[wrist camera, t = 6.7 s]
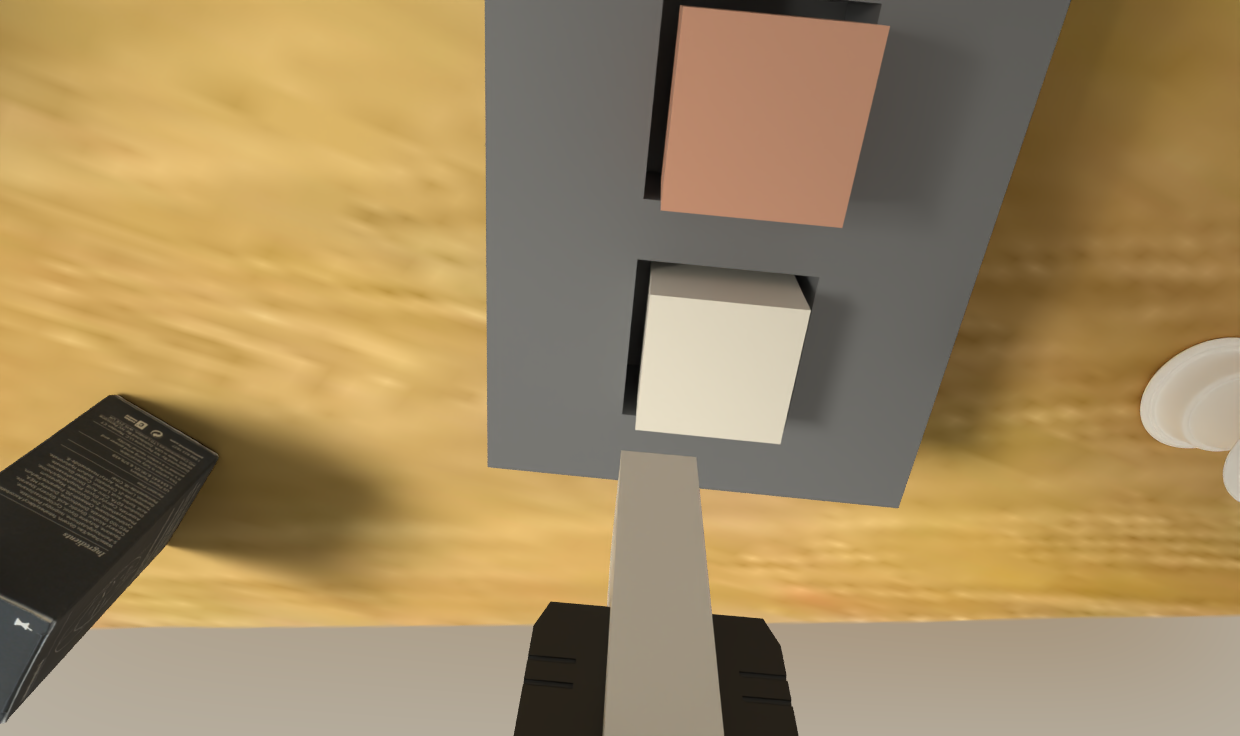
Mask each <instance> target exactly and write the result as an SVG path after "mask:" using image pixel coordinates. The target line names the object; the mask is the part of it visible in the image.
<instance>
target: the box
mask: <svg viewBox="0 0 1240 736" xmlns="http://www.w3.org/2000/svg"><path fill="white" fill-rule="evenodd" d="M218 458H219V456H218V454H217V453H215V452H213V451H212V450H210V449H208V448H206V447H205V446H203V445H201V444H200V443H198V442H197V441H196V440H194V439H191V438H190V437H189V436H187V435H185V434H183V433H182V432H181V431H179V430H177V429H175V428H173V427H171V426H170V425H168V424H167V423H165V422H163V421H161V420H159V419H158V418H156V417H154V416H153V415H151V414H149V413H147V412H145V411H144V410H142V409H140V408H139V407H137V406H135V405H133V404H132V403H130V402H128V401H126V400H125V399H123V398H122V397H121V396H119V395H109V396H107V397H106V398H104V399H103V400H102V401H100V402H99V403H97V404H96V405H95V406H93V407H92V408H90V409H89V410H88V411H86V412H85V413H83V414H82V415H80V416H79V417H78V418H76V419H75V420H74V421H72V422H71V423H69V424H68V425H67V426H65V427H64V428H62V429H61V430H59V431H58V432H57V433H55V434H54V435H53V436H51V437H50V438H48V439H47V440H46V441H44V442H43V443H41V444H40V445H38V446H37V447H36V448H34V449H33V450H31V451H30V452H28V453H27V454H26V455H24V456H23V457H21V458H20V459H18V460H17V461H16V462H14V463H13V464H11V465H10V466H9V467H7V468H6V469H4V470H3V471H1V472H0V723H5V722H7V720H8V719H9V717H10V716H11V715H12V714H13V713H14V712H15V710H17V708H18V707H19V706H20V705H21V704H22V703H23V702H24V701H25V699H26V698H27V697H28V696H29V695H30V694H31V693H32V692H33V691H34V690H35V689H36V687H37V686H38V685H39V684H40V683H41V682H42V681H43V679H45V677H47V675H48V674H49V673H50V672H51V671H52V670H53V669H54V668H55V667H56V665H57V664H58V663H59V662H60V661H61V660H62V659H63V658H64V657H65V656H66V654H67V653H68V652H69V651H70V650H71V649H72V648H73V647H74V645H75V644H76V643H77V642H78V641H79V640H80V639H81V638H82V636H84V635H85V633H86V632H87V631H88V630H89V629H90V628H91V627H92V626H93V625H94V624H95V622H96V621H97V620H98V619H99V618H100V617H101V616H102V615H103V614H104V612H105V611H106V610H107V609H108V608H109V607H110V606H111V605H112V604H113V603H114V602H115V601H116V599H117V598H118V597H119V596H120V595H121V594H122V593H123V592H124V591H125V590H126V588H127V587H128V586H130V584H131V583H132V582H133V581H134V580H135V579H136V578H137V577H138V576H139V574H140V573H141V572H142V571H143V570H144V569H145V568H146V567H147V566H148V565H149V564H150V562H151V561H152V560H153V559H154V558H155V557H156V556H157V555H158V554H159V553H160V552H161V551H162V550H163V548H164V547H165V546H166V545H167V543H168V541H169V540H170V538H171V537H172V535H173V533H174V532H175V530H176V528H177V527H178V525H179V524H180V522H181V520H182V519H183V517H184V515H185V514H186V512H187V510H188V509H189V507H190V505H191V504H192V502H193V501H194V499H195V497H196V496H197V494H198V492H199V490H200V489H201V487H202V486H203V484H204V482H205V481H206V479H207V477H208V475H209V474H210V472H211V471H212V469H213V467H214V466H215V464H216V462H217V460H218Z"/></svg>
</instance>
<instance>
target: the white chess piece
mask: <svg viewBox="0 0 1240 736" xmlns="http://www.w3.org/2000/svg"><path fill="white" fill-rule="evenodd" d="M1140 416H1141V420H1142V423H1143V425H1144V427H1145V429H1146V430H1147V432H1148V433H1149V434H1150V435H1151V436H1152V437H1153V438H1155V439H1156V440H1158V441H1159V442H1161V443H1164V444H1166V445H1169V446H1173V447H1178V448H1199V449H1202V450H1207V451H1228V450H1230V452H1229V454H1228V456H1227V458H1226V460H1225V463H1224V468H1223V481H1224V484H1225V487H1226V489H1227V491H1228V492H1229V494H1230V495H1231V496H1232V497H1233V498H1234V499H1236V500H1237V501H1239V502H1240V338H1220V339H1214V340H1210V341H1206V342H1203V343H1200V344H1197V345H1195V346H1192V347H1190V348H1188V349H1186V350H1184V351H1182V352H1181V353H1179V354H1177V355H1176V356H1174V357H1173V358H1172V359H1170V360H1169V361H1168V362H1166V363H1165V364H1164V365H1163V366H1162V367H1161V368H1160V369H1159V370H1158V371H1157V372H1156V373H1155V374H1154V376H1153V377H1152V378H1151V380H1150V381H1149V383H1148V385H1147V386H1146V388H1145V390H1144V393H1143V396H1142V399H1141V404H1140Z"/></svg>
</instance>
